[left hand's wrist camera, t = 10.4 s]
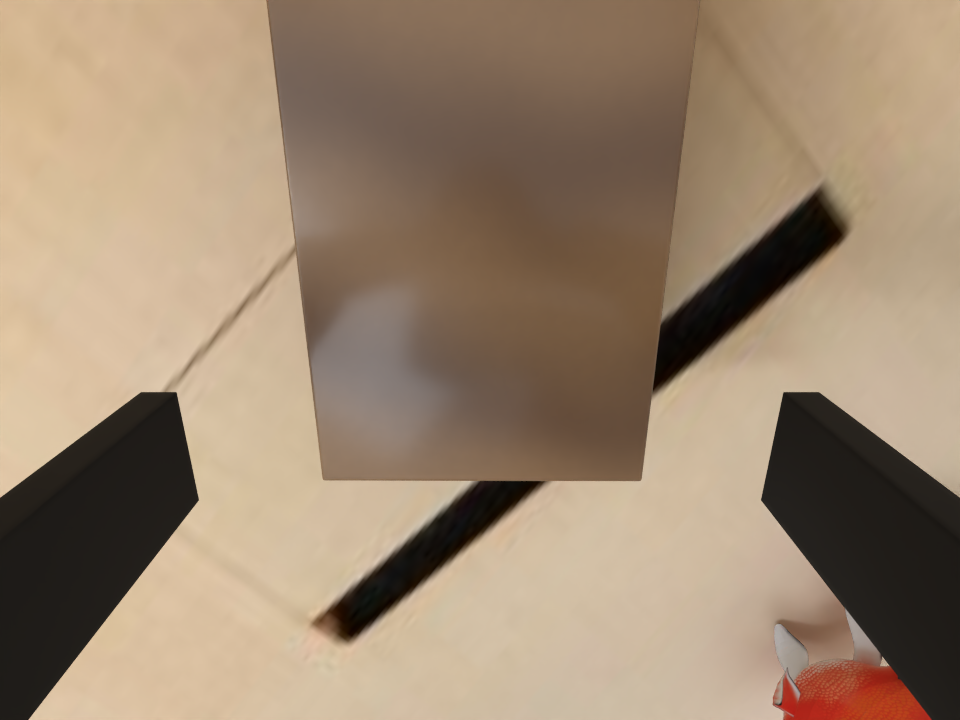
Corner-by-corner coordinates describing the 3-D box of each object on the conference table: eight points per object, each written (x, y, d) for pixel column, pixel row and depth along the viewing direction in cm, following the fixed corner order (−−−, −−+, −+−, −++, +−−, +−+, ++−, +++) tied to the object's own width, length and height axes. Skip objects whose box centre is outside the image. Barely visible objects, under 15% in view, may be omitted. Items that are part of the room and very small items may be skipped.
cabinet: (325, -229, 18) (205, -504, 10) (641, -229, 18) (763, -504, 10) (370, 374, 26) (322, 481, 18) (593, 375, 26) (642, 482, 18)
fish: (669, 674, 26) (920, 912, 18) (866, 422, 29) (1158, 534, 21) (727, 733, 32) (932, 928, 24) (884, 522, 35) (1113, 637, 27)
